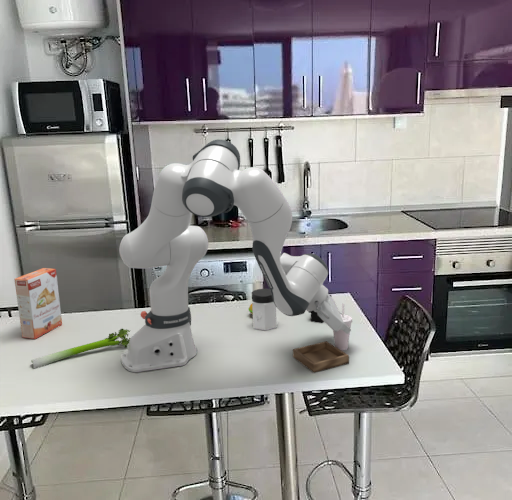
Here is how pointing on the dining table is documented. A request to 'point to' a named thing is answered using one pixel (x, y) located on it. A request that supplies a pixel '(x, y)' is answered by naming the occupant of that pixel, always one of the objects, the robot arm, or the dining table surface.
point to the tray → (320, 356)
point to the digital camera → (315, 317)
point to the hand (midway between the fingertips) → (346, 326)
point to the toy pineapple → (251, 309)
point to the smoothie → (342, 333)
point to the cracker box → (38, 302)
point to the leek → (83, 348)
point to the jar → (263, 310)
